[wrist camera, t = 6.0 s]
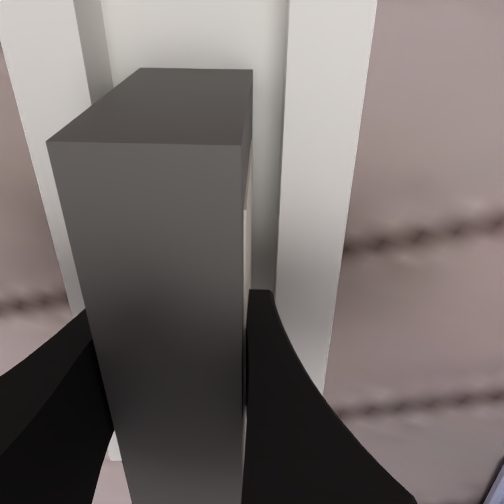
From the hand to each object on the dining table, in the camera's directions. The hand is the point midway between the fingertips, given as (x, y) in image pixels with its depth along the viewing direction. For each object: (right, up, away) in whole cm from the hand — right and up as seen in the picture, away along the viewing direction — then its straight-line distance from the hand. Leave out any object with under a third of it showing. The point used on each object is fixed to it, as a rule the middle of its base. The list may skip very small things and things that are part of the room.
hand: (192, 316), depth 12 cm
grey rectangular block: (0, +2, +3) cm, 3 cm away
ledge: (0, +2, +4) cm, 4 cm away
